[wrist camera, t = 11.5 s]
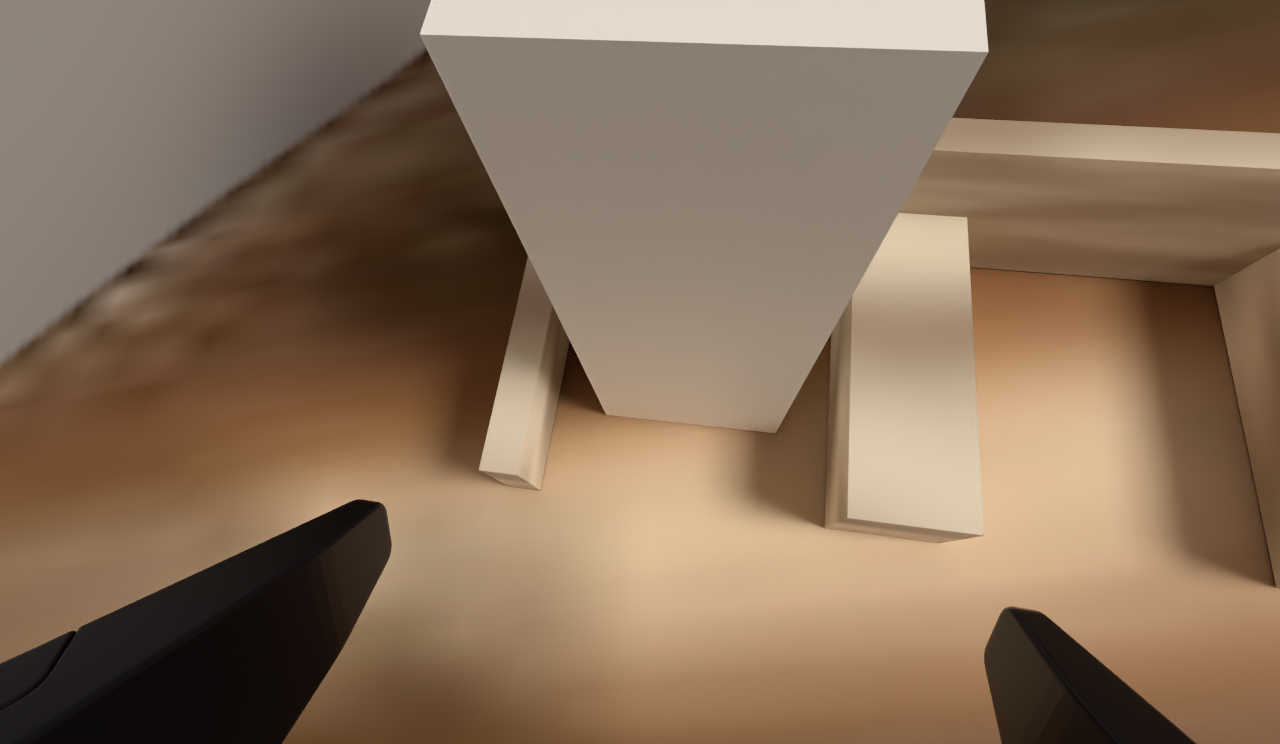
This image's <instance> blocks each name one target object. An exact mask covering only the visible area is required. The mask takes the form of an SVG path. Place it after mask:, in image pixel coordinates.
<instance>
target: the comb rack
mask: <svg viewBox="0 0 1280 744" xmlns="http://www.w3.org/2000/svg"><path fill="white" fill-rule="evenodd" d="M970 267H975V268H988V269H1001V270H1014V271H1027V272H1040V273H1053V274H1066V275H1079V276H1092V277H1105V278H1118V279H1131V280H1144V281H1157V282H1170V283H1183V284H1196V285H1209V286H1214V288H1215V293H1216V298H1217V303H1218V308H1219V312H1220V317H1221V322H1222V327H1223V332H1224V337H1225V341H1226V346H1227V351H1228V356H1229V361H1230V366H1231V370H1232V375H1233V380H1234V385H1235V390H1236V395H1237V400H1238V404H1239V409H1240V414H1241V419H1242V424H1243V429H1244V433H1245V438H1246V443H1247V448H1248V453H1249V458H1250V463H1251V467H1252V472H1253V477H1254V482H1255V487H1256V492H1257V496H1258V501H1259V506H1260V511H1261V516H1262V521H1263V526H1264V530H1265V535H1266V540H1267V545H1268V550H1269V555H1270V559H1271V564H1272V569H1273V574H1274V579H1275V584H1276V588H1280V134H1278V133H1257V132H1236V131H1216V130H1195V129H1174V128H1153V127H1132V126H1111V125H1090V124H1069V123H1048V122H1027V121H1006V120H985V119H964V118H951V120H950V122H949V123H948V125H947V127H946V129H945V131H944V132H943V134H942V136H941V138H940V140H939V141H938V143H937V145H936V147H935V149H934V150H933V152H932V154H931V156H930V158H929V159H928V161H927V163H926V165H925V166H924V168H923V170H922V172H921V174H920V175H919V177H918V179H917V181H916V183H915V184H914V186H913V188H912V190H911V192H910V193H909V195H908V197H907V199H906V201H905V202H904V204H903V206H902V208H901V209H900V211H899V213H898V215H897V217H896V218H895V220H894V222H893V224H892V226H891V227H890V229H889V231H888V233H887V235H886V236H885V238H884V240H883V242H882V243H881V245H880V247H879V249H878V251H877V252H876V254H875V256H874V258H873V260H872V261H871V263H870V265H869V267H868V269H867V270H866V272H865V274H864V276H863V278H862V279H861V281H860V283H859V285H858V286H857V288H856V290H855V292H854V294H853V295H852V297H851V299H850V301H849V303H848V304H847V306H846V308H845V310H844V312H843V313H842V315H841V317H840V319H839V321H838V322H837V324H836V326H835V328H834V329H833V331H832V333H831V353H830V382H829V411H828V440H827V469H826V498H825V527H824V528H829V529H837V530H845V531H852V532H860V533H867V534H875V535H882V536H890V537H897V538H905V539H913V540H920V541H928V542H935V543H944V542H949V541H955V540H961V539H967V538H972V537H978V536H984V528H983V509H982V490H981V471H980V452H979V433H978V414H977V395H976V376H975V357H974V338H973V320H972V301H971V282H970ZM569 342H570V340H569V338H568V336H567V334H566V332H565V330H564V328H563V326H562V324H561V322H560V320H559V318H558V316H557V313H556V311H555V309H554V307H553V305H552V303H551V301H550V299H549V297H548V295H547V293H546V291H545V289H544V287H543V285H542V283H541V281H540V279H539V277H538V275H537V273H536V271H535V269H534V267H533V265H532V262H531V260H530V258H529V256H528V259H527V263H526V267H525V272H524V276H523V280H522V285H521V289H520V293H519V298H518V302H517V306H516V311H515V315H514V319H513V324H512V328H511V332H510V337H509V341H508V345H507V350H506V354H505V358H504V363H503V367H502V371H501V376H500V380H499V384H498V389H497V393H496V397H495V402H494V406H493V410H492V415H491V419H490V423H489V428H488V432H487V436H486V441H485V445H484V449H483V453H482V458H481V462H480V466H479V471H481V472H483V473H485V474H487V475H489V476H490V477H492V478H494V479H496V480H498V481H499V482H501V483H503V484H505V485H507V486H512V487H519V488H527V489H534V490H541V487H542V482H543V476H544V471H545V466H546V461H547V456H548V451H549V445H550V440H551V435H552V430H553V425H554V420H555V415H556V409H557V404H558V399H559V394H560V389H561V384H562V378H563V373H564V368H565V363H566V358H567V353H568V347H569Z"/></svg>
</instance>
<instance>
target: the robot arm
mask: <svg viewBox="0 0 1280 744" xmlns="http://www.w3.org/2000/svg"><path fill="white" fill-rule="evenodd" d="M391 547H392V544H391V536H390V530H389V524H388V517H387V511H386V508H385V507H384V505H383V504H381V503H379V502H374V501H368V500H354V501H351V502H349V503H347V504H345V505H343V506H341V507H338V508H336V509H334V510H332V511H330V512H328V513H326V514H323V515H321V516H319V517H317V518H315V519H313V520H310V521H308V522H306V523H304V524H302V525H300V526H297V527H295V528H293V529H291V530H289V531H287V532H285V533H282V534H280V535H278V536H276V537H274V538H272V539H269V540H267V541H265V542H263V543H261V544H259V545H257V546H254V547H252V548H250V549H248V550H246V551H244V552H241V553H239V554H237V555H235V556H233V557H231V558H228V559H226V560H224V561H222V562H220V563H218V564H215V565H213V566H211V567H209V568H207V569H205V570H203V571H200V572H198V573H196V574H194V575H192V576H190V577H187V578H185V579H183V580H181V581H179V582H177V583H174V584H172V585H170V586H168V587H166V588H164V589H161V590H159V591H157V592H155V593H153V594H151V595H149V596H146V597H144V598H142V599H140V600H138V601H136V602H133V603H131V604H129V605H127V606H125V607H123V608H120V609H118V610H116V611H114V612H112V613H110V614H108V615H105V616H103V617H101V618H99V619H97V620H95V621H92V622H90V623H88V624H86V625H84V626H82V627H80V628H79V629H78V631H77V632H76V631H71V632H68V633H66V634H64V635H62V636H60V637H58V638H56V639H53V640H51V641H49V642H47V643H45V644H43V645H40V646H38V647H36V648H34V649H32V650H30V651H27V652H25V653H23V654H21V655H18V656H16V657H14V658H12V659H9V660H7V661H5V662H3V663H1V664H0V744H282V743H283V741H284V739H285V738H286V736H287V735H288V733H289V732H290V730H291V729H292V727H293V725H294V724H295V722H296V721H297V719H298V718H299V716H300V715H301V713H302V711H303V710H304V708H305V707H306V705H307V704H308V702H309V701H310V699H311V698H312V696H313V694H314V693H315V691H316V690H317V688H318V687H319V685H320V684H321V682H322V680H323V679H324V677H325V676H326V674H327V673H328V671H329V670H330V668H331V666H332V665H333V663H334V662H335V660H336V658H337V657H338V655H339V653H340V652H341V650H342V648H343V646H344V645H345V643H346V641H347V639H348V637H349V636H350V634H351V632H352V630H353V628H354V626H355V624H356V622H357V620H358V618H359V616H360V614H361V612H362V610H363V608H364V606H365V604H366V602H367V600H368V599H369V597H370V595H371V593H372V591H373V589H374V587H375V585H376V583H377V581H378V579H379V577H380V575H381V573H382V571H383V569H384V567H385V565H386V564H387V562H388V559H389V557H390V553H391ZM984 663H985V669H986V674H987V678H988V683H989V687H990V692H991V696H992V701H993V706H994V710H995V715H996V719H997V724H998V728H999V733H1000V738H1001V742H1002V744H1197V743H1195V742H1194V741H1193V740H1192V739H1191V738H1190V737H1188V736H1187V735H1186V734H1185V733H1184V732H1183V731H1181V730H1180V729H1179V728H1178V727H1177V726H1175V725H1174V724H1173V723H1172V722H1171V721H1170V720H1168V719H1167V718H1166V717H1165V716H1164V715H1162V714H1161V713H1160V712H1159V711H1158V710H1157V709H1155V708H1154V707H1153V706H1152V705H1151V704H1150V703H1148V702H1147V701H1146V700H1145V699H1144V698H1142V697H1141V696H1140V695H1139V694H1138V693H1137V692H1135V691H1134V690H1133V689H1132V688H1131V687H1129V686H1128V685H1127V684H1126V683H1125V682H1124V681H1122V680H1121V679H1120V678H1119V677H1118V676H1117V675H1115V674H1114V673H1113V672H1112V671H1111V670H1109V669H1108V668H1107V667H1106V666H1105V665H1104V664H1102V663H1101V662H1100V661H1099V660H1098V659H1096V658H1095V657H1094V656H1093V655H1092V654H1091V653H1089V652H1088V651H1087V650H1086V649H1085V648H1084V647H1082V646H1081V645H1080V644H1079V643H1078V642H1076V641H1075V640H1074V639H1073V638H1072V637H1071V636H1069V635H1068V634H1067V633H1066V632H1065V631H1063V630H1062V629H1061V628H1060V627H1059V626H1058V625H1056V624H1055V623H1054V622H1053V621H1052V620H1050V619H1049V618H1048V617H1047V616H1046V615H1044V614H1043V613H1041V612H1039V611H1036V610H1030V609H1024V608H1018V607H1007V608H1005V609H1004V610H1003V611H1002V612H1001V614H1000V616H999V618H998V620H997V623H996V625H995V627H994V629H993V632H992V634H991V636H990V638H989V641H988V643H987V645H986V648H985V653H984Z"/></svg>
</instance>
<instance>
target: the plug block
mask: <svg viewBox="0 0 1280 744" xmlns="http://www.w3.org/2000/svg"><path fill="white" fill-rule="evenodd" d="M420 36H421V38H422V40H423V42H424V44H425V46H426V48H427V50H428V52H429V55H430V57H431V59H432V61H433V63H434V65H435V67H436V69H437V71H438V73H439V75H440V77H441V79H442V81H443V83H444V85H445V87H446V89H447V91H448V93H449V95H450V97H451V99H452V101H453V103H454V105H455V108H456V110H457V112H458V114H459V116H460V118H461V120H462V122H463V124H464V126H465V128H466V130H467V132H468V134H469V136H470V138H471V140H472V142H473V144H474V146H475V148H476V150H477V152H478V154H479V156H480V159H481V161H482V163H483V165H484V167H485V169H486V171H487V173H488V175H489V177H490V179H491V181H492V183H493V185H494V187H495V189H496V191H497V193H498V195H499V197H500V199H501V201H502V203H503V205H504V207H505V209H506V212H507V214H508V216H509V218H510V220H511V222H512V224H513V226H514V228H515V230H516V232H517V234H518V236H519V238H520V240H521V242H522V244H523V246H524V248H525V250H526V252H527V254H528V256H529V258H530V260H531V262H532V265H533V267H534V269H535V271H536V273H537V275H538V277H539V279H540V281H541V283H542V285H543V287H544V289H545V291H546V293H547V295H548V297H549V299H550V301H551V303H552V305H553V307H554V309H555V311H556V313H557V316H558V318H559V320H560V322H561V324H562V326H563V328H564V330H565V332H566V334H567V336H568V338H569V340H570V342H571V344H572V346H573V348H574V350H575V352H576V354H577V356H578V358H579V360H580V362H581V364H582V366H583V369H584V371H585V373H586V375H587V377H588V379H589V381H590V383H591V385H592V387H593V389H594V391H595V393H596V395H597V397H598V399H599V401H600V403H601V405H602V407H603V409H604V411H605V413H606V415H610V416H620V417H629V418H638V419H647V420H656V421H665V422H675V423H684V424H693V425H702V426H711V427H721V428H730V429H739V430H748V431H757V432H766V433H776V432H777V430H778V428H779V426H780V424H781V423H782V421H783V419H784V417H785V415H786V414H787V412H788V410H789V408H790V406H791V405H792V403H793V401H794V399H795V398H796V396H797V394H798V392H799V390H800V389H801V387H802V385H803V383H804V381H805V380H806V378H807V376H808V374H809V372H810V371H811V369H812V367H813V365H814V363H815V362H816V360H817V358H818V356H819V355H820V353H821V351H822V349H823V347H824V346H825V344H826V342H827V340H828V338H829V337H830V335H831V333H832V331H833V329H834V328H835V326H836V324H837V322H838V321H839V319H840V317H841V315H842V313H843V312H844V310H845V308H846V306H847V304H848V303H849V301H850V299H851V297H852V295H853V294H854V292H855V290H856V288H857V286H858V285H859V283H860V281H861V279H862V278H863V276H864V274H865V272H866V270H867V269H868V267H869V265H870V263H871V261H872V260H873V258H874V256H875V254H876V252H877V251H878V249H879V247H880V245H881V243H882V242H883V240H884V238H885V236H886V235H887V233H888V231H889V229H890V227H891V226H892V224H893V222H894V220H895V218H896V217H897V215H898V213H899V211H900V209H901V208H902V206H903V204H904V202H905V201H906V199H907V197H908V195H909V193H910V192H911V190H912V188H913V186H914V184H915V183H916V181H917V179H918V177H919V175H920V174H921V172H922V170H923V168H924V166H925V165H926V163H927V161H928V159H929V158H930V156H931V154H932V152H933V150H934V149H935V147H936V145H937V143H938V141H939V140H940V138H941V136H942V134H943V132H944V131H945V129H946V127H947V125H948V123H949V122H950V120H951V118H952V116H953V115H954V113H955V111H956V109H957V107H958V106H959V104H960V102H961V100H962V98H963V97H964V95H965V93H966V91H967V89H968V88H969V86H970V84H971V82H972V80H973V79H974V77H975V75H976V73H977V72H978V70H979V68H980V66H981V64H982V63H983V61H984V59H985V57H986V55H987V54H988V41H987V29H986V17H985V5H984V0H431V3H430V6H429V9H428V12H427V15H426V18H425V21H424V24H423V26H422V29H421V32H420Z"/></svg>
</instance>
